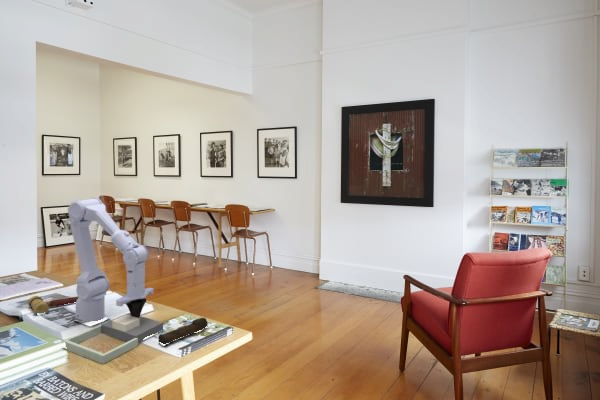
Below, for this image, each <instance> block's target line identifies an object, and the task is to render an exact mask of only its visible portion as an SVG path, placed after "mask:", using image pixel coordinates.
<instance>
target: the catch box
mask: <svg viewBox="0 0 600 400" xmlns="http://www.w3.org/2000/svg"><path fill="white" fill-rule="evenodd" d="M100 334H102V333H101V325H96V326H93V327H91V328H89V329H86V330H85V331H82V332H80V333H77V334H76V335H73V336H70V337H67V338H66V339H63V340H64V341H65V343H66V347H67V350H66V351H69V352H71V353H74V354H76V355H79V356H82V357H84V358H87V359H89V360H91V361H95V362H97V363H100V364H103V365H104V364H107V363H108V362H110V361H112V360H113V359H116V358H117V357H120V356H122V355H123V354H125V353H127V352H129V351H131V350H133V349H134V348H136V347H139V344H138V338H134V339H132V340H130V341H128V342H126V341H125V342H124V343H123V344H120V345H118V346H116V347H114V348H112V349H110V350H108V351H106V352H105V353H103V352H100V351H98V350H95V349H93V348H90V347H87V346H85V345H81V344H80V343H81V342H84V341H87V340H88V339H91V338H93V337H95V336H98V335H100Z"/></svg>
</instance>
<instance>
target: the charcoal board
mask: <svg viewBox="0 0 600 400" xmlns="http://www.w3.org/2000/svg"><path fill="white" fill-rule="evenodd" d="M124 315H130V316H131V314H130V312H128V313H126V314H123V315H120V316H118V317H115V318H113V319H110V320H108V321H105V322H103V323H100V326H101V333H100V334H103V335H105V336H108V337H111V338H114V339H117V340H121V341H123V342H125V343H126V342H128V341H130V340H132V339H134V338H138V345H139V344H141V343H142V342H144V341H143V339H144V338H145V337H147V336H150V335H152V334H155V333H157V332H159V331H161V330H163V331H164V329H163V327H164V323H163V322H162V321H158V320H155V319H151V318H148V317H145V316H142V315H140V325H139V326H137V327H135V328H133V329H131V330H129V331H127V332H123V331H120V330H117V329H114V328H112V321H113V320H115V319H117V318H120V317H122V316H124Z"/></svg>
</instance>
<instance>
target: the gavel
mask: <svg viewBox="0 0 600 400" xmlns="http://www.w3.org/2000/svg"><path fill="white" fill-rule="evenodd" d="M78 298H79V297H78V296H72V297H66V298H59V299H53V300H49V301H44V299H42V297H40V296H39V295H34V296H32V297H30V298H29V299H28V301H27V305H28V306H29V308H30V307H32V308H33V309H34V310H33V309H32V308H31V309H32V310H33V312H34V314H35V313H44V312H47V313H49V311H50V308H54V307H53V306H56V307H60V306H59V305H62V306H65V305H64V304H68V303H74V302H76V301H77V299H78Z"/></svg>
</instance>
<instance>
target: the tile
mask: <svg viewBox="0 0 600 400" xmlns="http://www.w3.org/2000/svg"><path fill="white" fill-rule="evenodd" d="M123 315H124V316H123ZM123 315H121V316H122V317H120V316H119V317H120V318H118V317H116V318H117V319H116V318H114V319H115V320H113V319H112V320H113V321H112V328H114V329H117V330H120V331H123V332H127V331H129V330H131V329H133V328H135V327H137V326H139V325H140V318H137V317H133V316H130V315H125V314H123Z"/></svg>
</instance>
